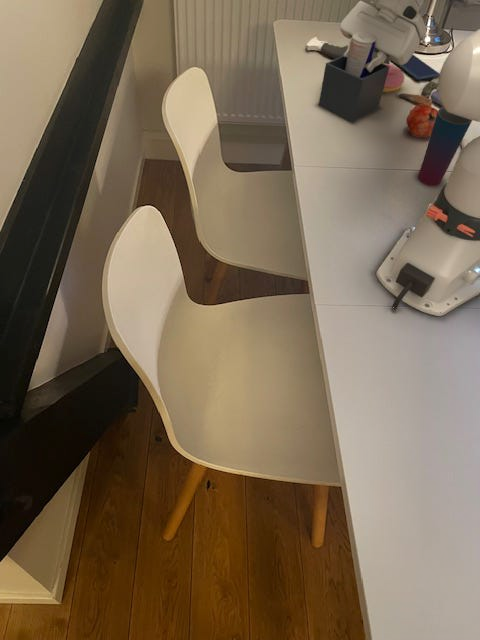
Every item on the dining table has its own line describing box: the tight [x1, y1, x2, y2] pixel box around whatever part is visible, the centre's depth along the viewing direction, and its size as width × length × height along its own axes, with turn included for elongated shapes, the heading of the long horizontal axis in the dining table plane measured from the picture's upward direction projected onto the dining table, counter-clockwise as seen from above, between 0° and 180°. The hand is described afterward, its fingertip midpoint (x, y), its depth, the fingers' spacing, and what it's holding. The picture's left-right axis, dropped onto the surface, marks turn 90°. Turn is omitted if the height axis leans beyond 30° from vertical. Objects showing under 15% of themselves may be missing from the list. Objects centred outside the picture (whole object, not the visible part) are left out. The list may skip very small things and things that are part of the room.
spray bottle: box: [305, 36, 391, 64], centre depth 146 cm, size 3×11×24 cm
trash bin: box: [318, 55, 389, 123], centre depth 125 cm, size 11×11×11 cm
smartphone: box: [395, 54, 440, 81], centre depth 144 cm, size 8×1×15 cm
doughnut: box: [382, 63, 405, 93], centre depth 136 cm, size 11×11×4 cm
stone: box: [398, 92, 433, 107], centre depth 132 cm, size 9×2×3 cm
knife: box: [420, 77, 439, 98], centre depth 139 cm, size 20×1×3 cm
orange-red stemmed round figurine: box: [406, 104, 439, 138], centre depth 120 cm, size 7×7×10 cm
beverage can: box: [345, 32, 376, 79], centre depth 122 cm, size 6×6×15 cm
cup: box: [417, 106, 473, 186], centre depth 105 cm, size 7×7×15 cm
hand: (356, 64), depth 121 cm, fingers closed on beverage can, 5 cm apart
